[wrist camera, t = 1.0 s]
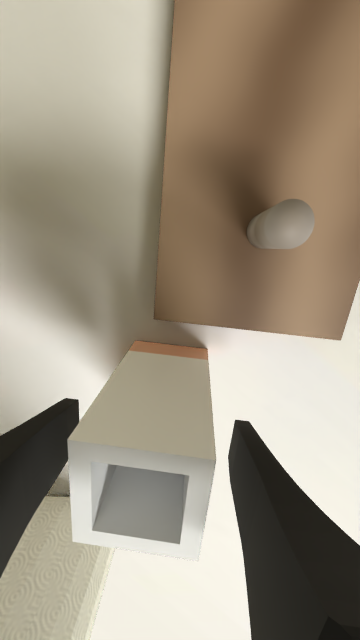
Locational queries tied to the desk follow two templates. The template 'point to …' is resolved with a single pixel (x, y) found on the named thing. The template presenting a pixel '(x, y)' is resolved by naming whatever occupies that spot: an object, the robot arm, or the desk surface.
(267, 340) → the desk surface
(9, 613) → the paper towel roll
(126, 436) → the sleeve
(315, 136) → the pin board
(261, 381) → the desk surface
